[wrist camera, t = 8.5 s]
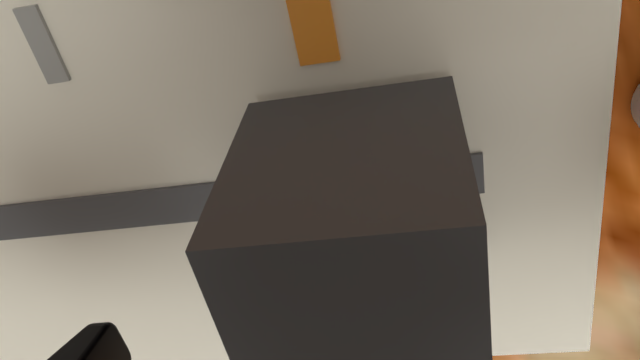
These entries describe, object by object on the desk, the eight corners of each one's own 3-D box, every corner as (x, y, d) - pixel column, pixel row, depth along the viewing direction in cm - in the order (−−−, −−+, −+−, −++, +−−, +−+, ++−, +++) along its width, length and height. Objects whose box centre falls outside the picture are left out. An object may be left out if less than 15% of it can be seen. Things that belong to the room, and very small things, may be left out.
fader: (300, 284, 14) (270, 458, 11) (248, 103, 12) (185, 251, 8) (466, 272, 14) (496, 454, 10) (452, 76, 11) (486, 225, 7)
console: (-59, 316, 22) (-118, 387, 19) (-305, -1, 15) (-443, 42, 13) (561, 272, 18) (590, 354, 15) (583, -184, 11) (640, -175, 9)
